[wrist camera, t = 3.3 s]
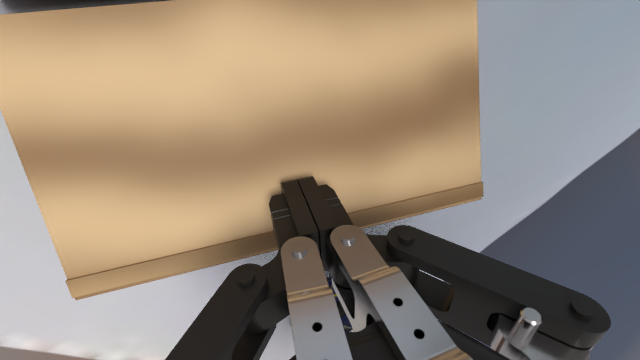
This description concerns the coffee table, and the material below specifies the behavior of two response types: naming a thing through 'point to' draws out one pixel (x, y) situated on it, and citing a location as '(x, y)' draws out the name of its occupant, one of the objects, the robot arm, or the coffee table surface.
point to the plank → (233, 122)
